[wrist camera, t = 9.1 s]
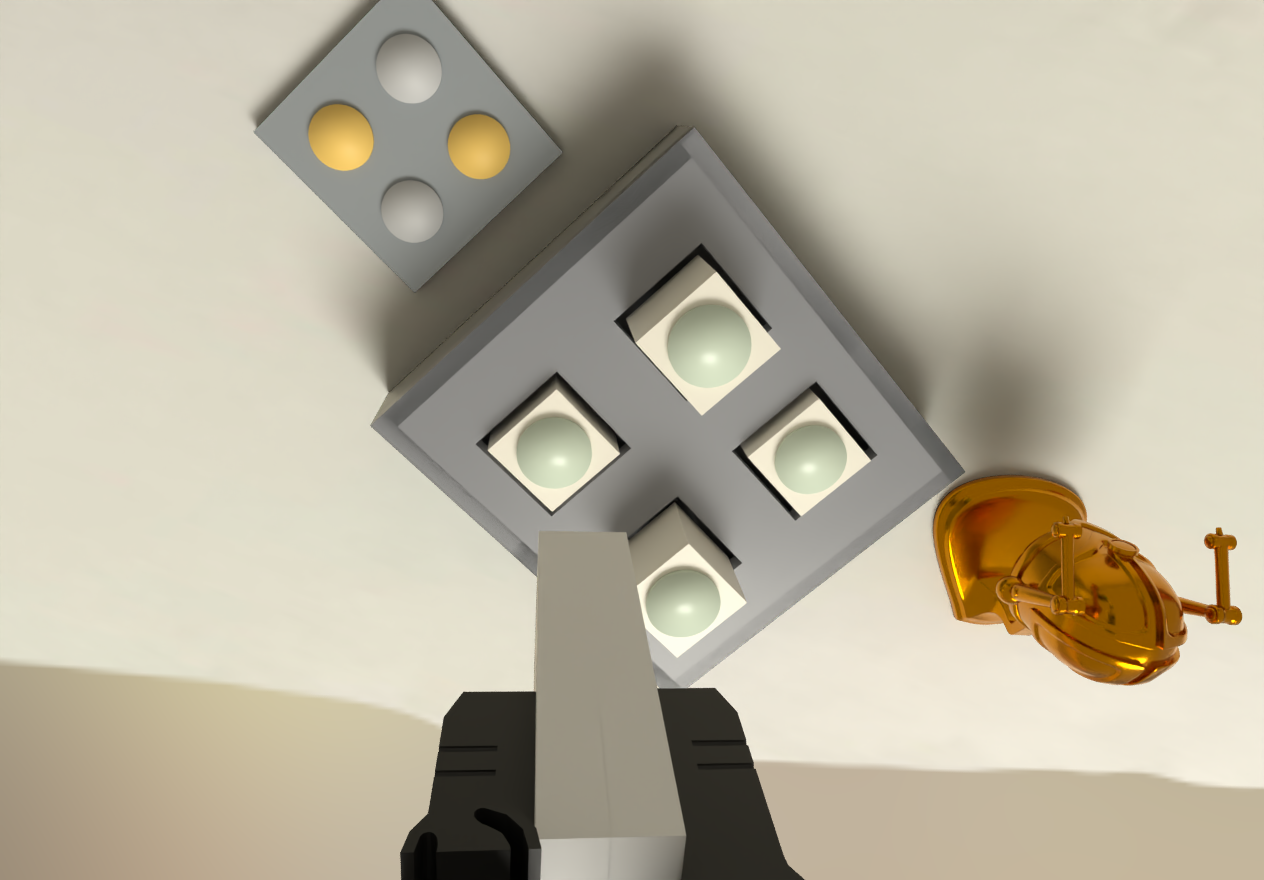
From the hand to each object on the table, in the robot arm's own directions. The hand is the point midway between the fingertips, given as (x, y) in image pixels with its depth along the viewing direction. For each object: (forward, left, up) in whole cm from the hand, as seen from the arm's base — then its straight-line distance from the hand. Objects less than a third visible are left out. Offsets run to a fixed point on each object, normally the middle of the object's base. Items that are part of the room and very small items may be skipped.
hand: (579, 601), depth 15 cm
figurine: (+26, +9, -27) cm, 38 cm away
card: (-9, 0, -26) cm, 28 cm away
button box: (+8, 0, -26) cm, 27 cm away
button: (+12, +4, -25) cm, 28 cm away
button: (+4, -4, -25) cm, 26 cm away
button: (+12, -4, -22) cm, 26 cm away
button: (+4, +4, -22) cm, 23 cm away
